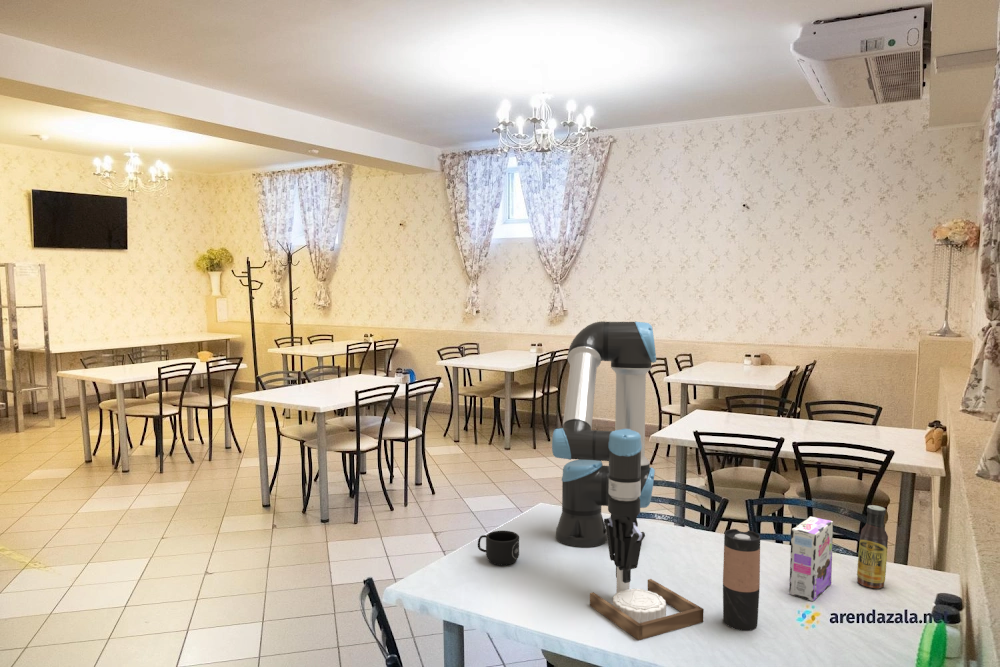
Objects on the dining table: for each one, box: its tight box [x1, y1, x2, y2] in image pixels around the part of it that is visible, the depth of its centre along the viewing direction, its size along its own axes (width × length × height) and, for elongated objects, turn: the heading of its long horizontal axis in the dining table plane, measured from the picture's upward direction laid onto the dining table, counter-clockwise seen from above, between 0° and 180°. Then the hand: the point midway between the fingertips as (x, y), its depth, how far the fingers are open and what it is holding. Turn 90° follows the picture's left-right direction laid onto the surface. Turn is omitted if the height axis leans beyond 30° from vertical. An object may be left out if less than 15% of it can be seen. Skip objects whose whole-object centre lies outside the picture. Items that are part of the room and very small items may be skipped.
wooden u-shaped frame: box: [589, 578, 705, 641], centre depth 156 cm, size 18×18×3 cm
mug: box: [477, 530, 520, 566], centre depth 187 cm, size 12×9×7 cm
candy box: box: [788, 516, 834, 602], centre depth 169 cm, size 14×6×16 cm, turn 137°
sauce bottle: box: [856, 504, 889, 590], centre depth 172 cm, size 7×6×20 cm
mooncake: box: [612, 588, 667, 623], centre depth 157 cm, size 12×12×4 cm
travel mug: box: [722, 528, 761, 632], centre depth 152 cm, size 8×8×20 cm
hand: (622, 593), depth 164 cm, fingers closed
